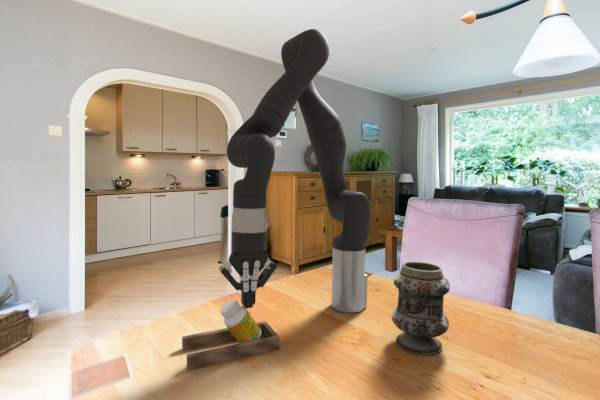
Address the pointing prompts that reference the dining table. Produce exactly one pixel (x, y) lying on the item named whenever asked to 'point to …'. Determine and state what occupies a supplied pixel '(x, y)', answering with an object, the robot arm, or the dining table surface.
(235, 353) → the walnut U-rest
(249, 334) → the supplement bottle
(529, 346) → the dining table surface
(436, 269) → the apothecary jar
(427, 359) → the dining table surface
